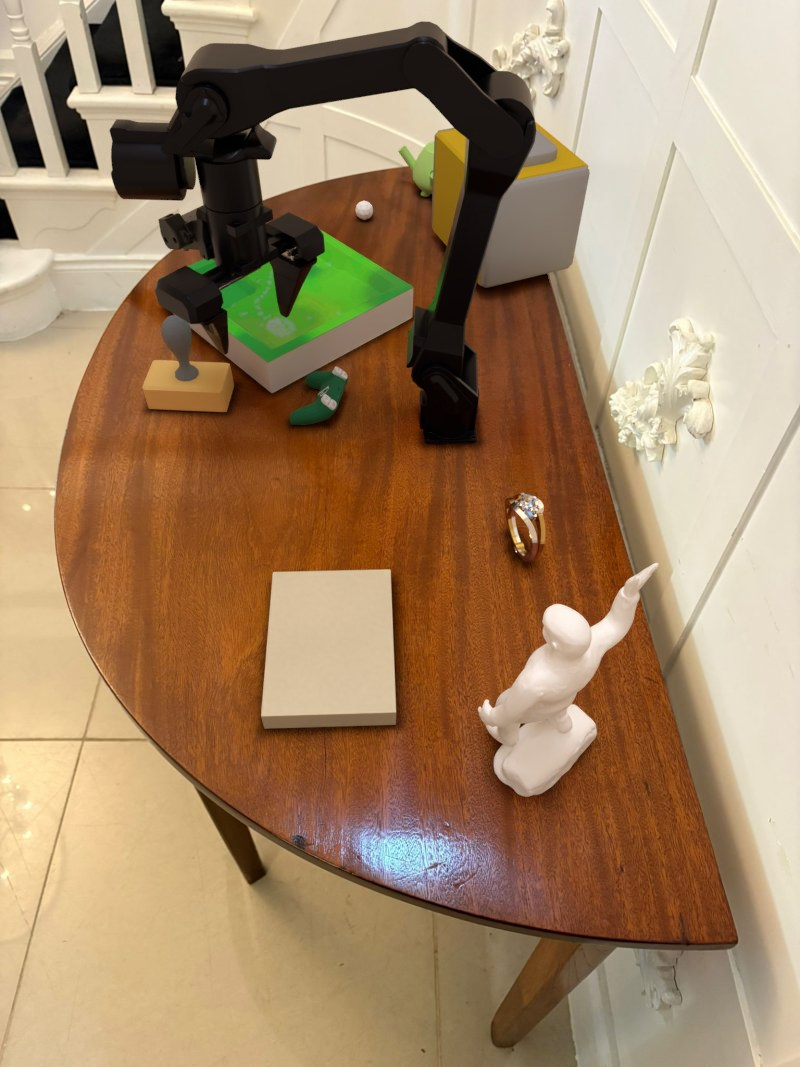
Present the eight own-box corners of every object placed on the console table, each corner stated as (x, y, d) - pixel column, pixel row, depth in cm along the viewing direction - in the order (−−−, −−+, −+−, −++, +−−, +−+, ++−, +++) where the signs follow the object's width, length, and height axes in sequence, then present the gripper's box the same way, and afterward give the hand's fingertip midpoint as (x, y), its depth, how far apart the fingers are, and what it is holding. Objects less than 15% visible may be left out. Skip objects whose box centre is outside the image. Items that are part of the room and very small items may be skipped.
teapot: (448, 169, 141) (451, 120, 134) (485, 196, 134) (490, 146, 128) (395, 184, 137) (396, 134, 130) (430, 212, 131) (433, 162, 124)
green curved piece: (306, 440, 97) (338, 420, 93) (284, 421, 95) (315, 399, 92) (325, 393, 103) (356, 373, 99) (304, 374, 101) (335, 352, 97)
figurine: (570, 693, 73) (636, 521, 54) (612, 774, 68) (701, 615, 49) (452, 730, 71) (476, 562, 51) (487, 816, 66) (528, 666, 46)
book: (390, 581, 81) (390, 567, 79) (396, 725, 71) (396, 712, 69) (275, 584, 81) (272, 570, 79) (264, 728, 70) (260, 716, 68)
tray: (412, 317, 111) (413, 286, 107) (271, 393, 100) (267, 362, 96) (304, 247, 123) (301, 217, 119) (167, 309, 112) (159, 278, 108)
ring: (543, 572, 82) (556, 523, 76) (515, 578, 82) (525, 529, 76) (520, 524, 87) (531, 474, 80) (493, 529, 86) (502, 479, 80)
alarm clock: (575, 280, 118) (599, 157, 104) (481, 302, 114) (493, 178, 100) (514, 218, 129) (529, 101, 115) (428, 237, 125) (432, 117, 111)
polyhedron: (358, 224, 128) (358, 207, 125) (353, 215, 130) (353, 198, 127) (375, 222, 128) (374, 204, 126) (370, 213, 130) (370, 195, 128)
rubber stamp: (234, 384, 101) (219, 304, 92) (226, 414, 98) (209, 334, 88) (159, 381, 101) (136, 301, 92) (148, 410, 98) (123, 330, 88)
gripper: (248, 142, 83) (267, 273, 95) (102, 207, 74) (143, 342, 86) (322, 175, 78) (332, 308, 90) (176, 248, 69) (208, 385, 81)
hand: (254, 333), depth 87 cm, fingers open, 9 cm apart
